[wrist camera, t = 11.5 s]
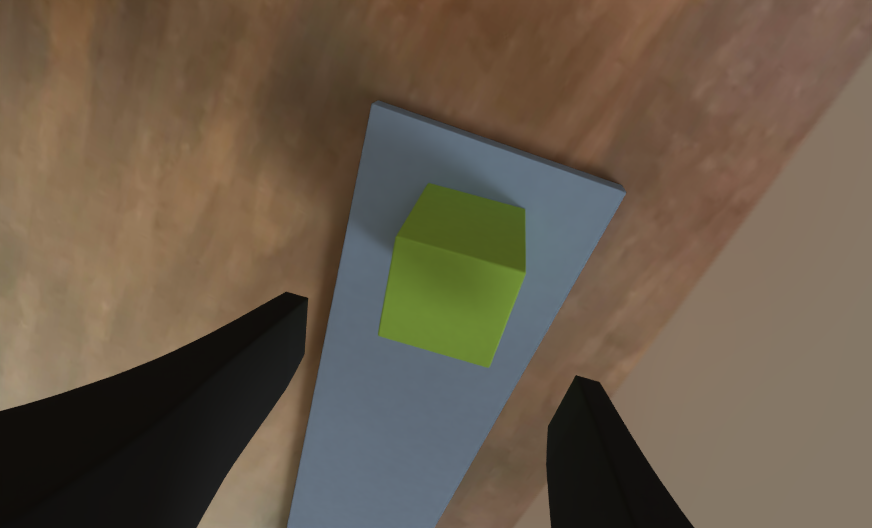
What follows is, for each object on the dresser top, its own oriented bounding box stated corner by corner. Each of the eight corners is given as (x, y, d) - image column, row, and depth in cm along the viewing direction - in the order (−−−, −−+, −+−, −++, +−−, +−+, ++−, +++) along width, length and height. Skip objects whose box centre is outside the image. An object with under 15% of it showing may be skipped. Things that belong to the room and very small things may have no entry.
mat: (377, 99, 16) (371, 103, 16) (622, 185, 16) (627, 192, 16) (287, 538, 35) (282, 548, 34) (400, 579, 35) (398, 590, 34)
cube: (525, 208, 17) (527, 272, 12) (497, 290, 19) (489, 369, 14) (428, 182, 17) (395, 236, 12) (410, 265, 19) (377, 336, 14)
